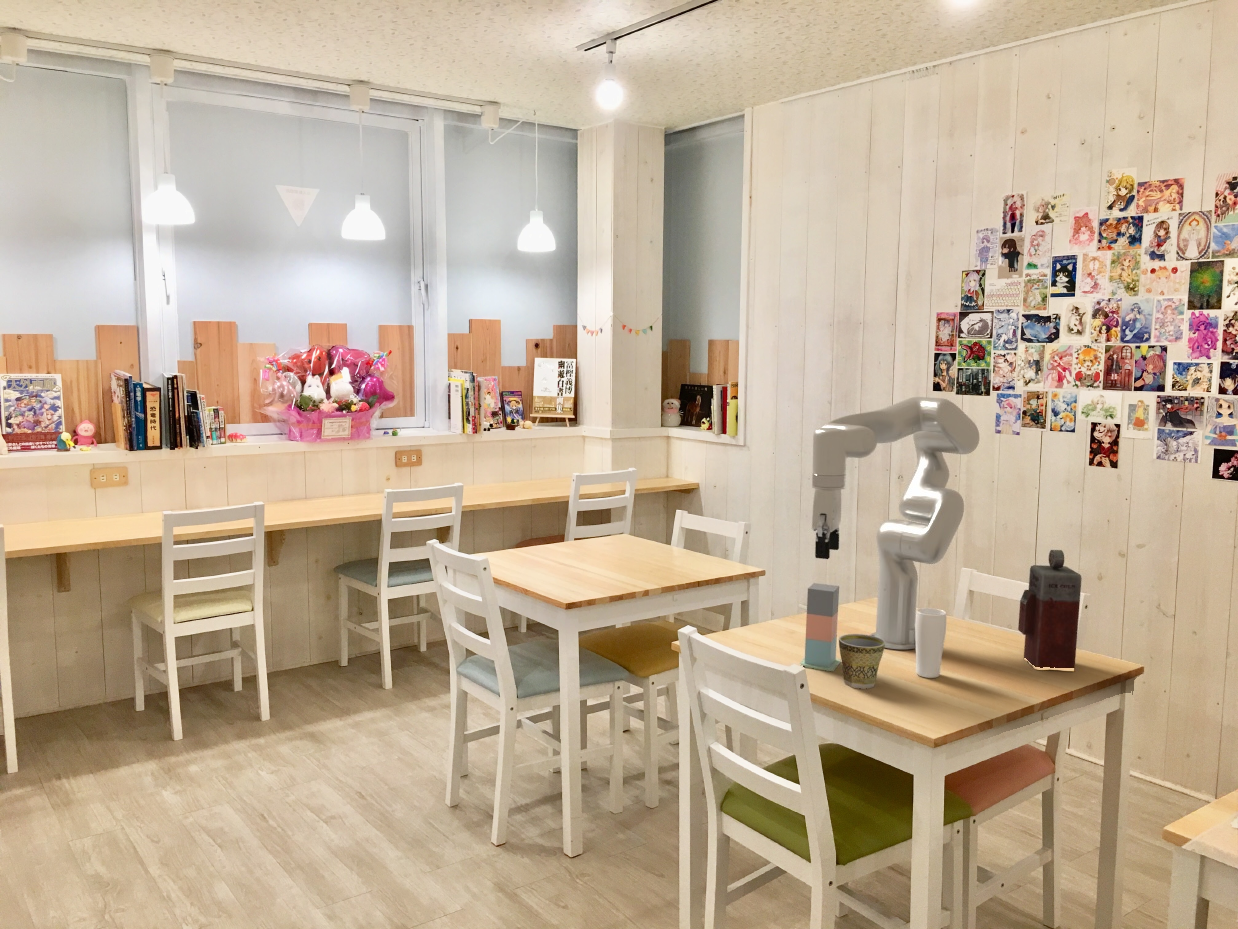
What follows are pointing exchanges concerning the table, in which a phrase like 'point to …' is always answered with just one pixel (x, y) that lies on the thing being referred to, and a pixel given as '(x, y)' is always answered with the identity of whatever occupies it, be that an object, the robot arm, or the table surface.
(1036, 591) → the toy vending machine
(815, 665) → the green baseplate
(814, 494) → the robot arm
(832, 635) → the coral brick
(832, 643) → the teal base brick
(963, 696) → the table surface
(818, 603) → the charcoal brick
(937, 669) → the drinking glass
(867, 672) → the ceramic cup
